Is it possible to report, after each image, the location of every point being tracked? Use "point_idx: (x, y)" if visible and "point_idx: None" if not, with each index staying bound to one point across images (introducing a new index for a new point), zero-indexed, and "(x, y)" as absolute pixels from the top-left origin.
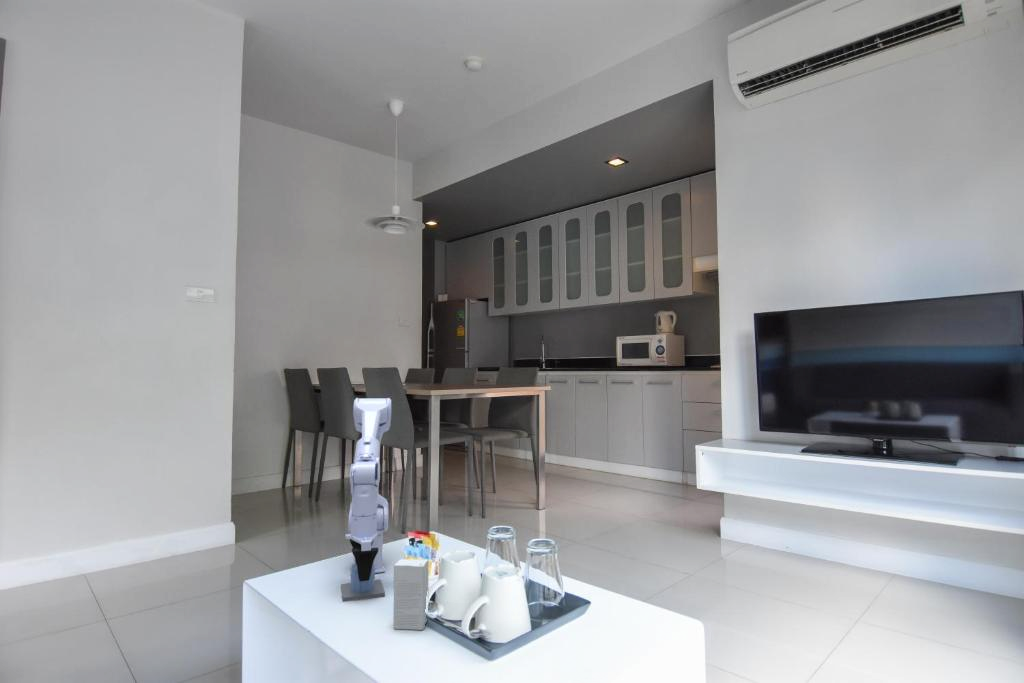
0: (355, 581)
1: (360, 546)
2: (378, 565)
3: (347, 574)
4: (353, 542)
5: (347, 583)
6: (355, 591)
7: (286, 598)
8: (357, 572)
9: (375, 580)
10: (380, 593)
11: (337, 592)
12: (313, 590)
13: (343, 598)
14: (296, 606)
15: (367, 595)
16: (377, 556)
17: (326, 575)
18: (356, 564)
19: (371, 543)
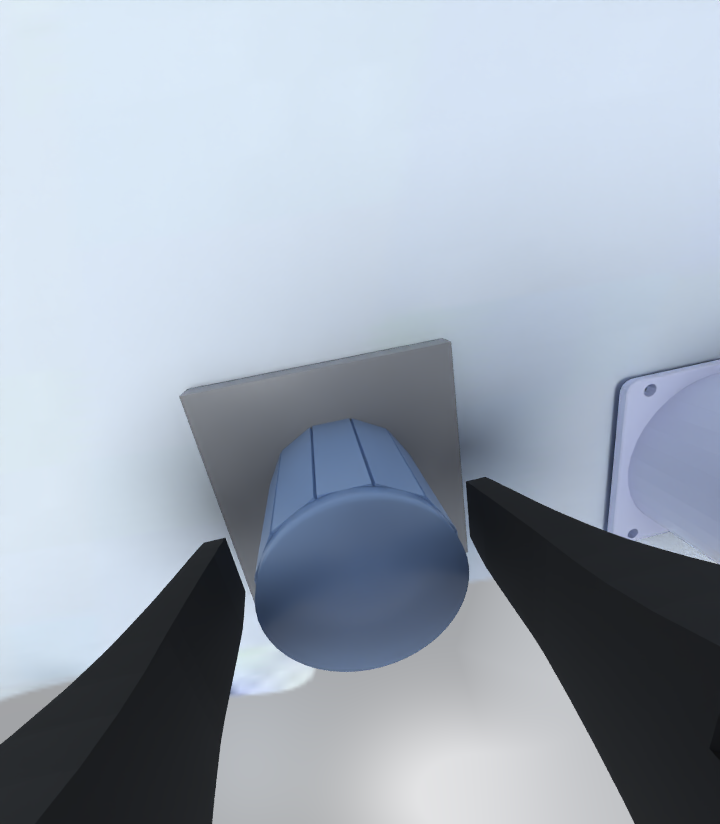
0: (274, 491)
1: (619, 684)
2: (662, 525)
3: (664, 343)
4: (708, 684)
5: (450, 383)
6: (278, 459)
7: None
8: (263, 550)
9: (459, 531)
10: (249, 586)
11: (360, 329)
12: (434, 138)
13: (184, 399)
14: (87, 29)
15: (230, 526)
16: (714, 559)
17: (707, 199)
18: (413, 534)
19: (629, 806)
